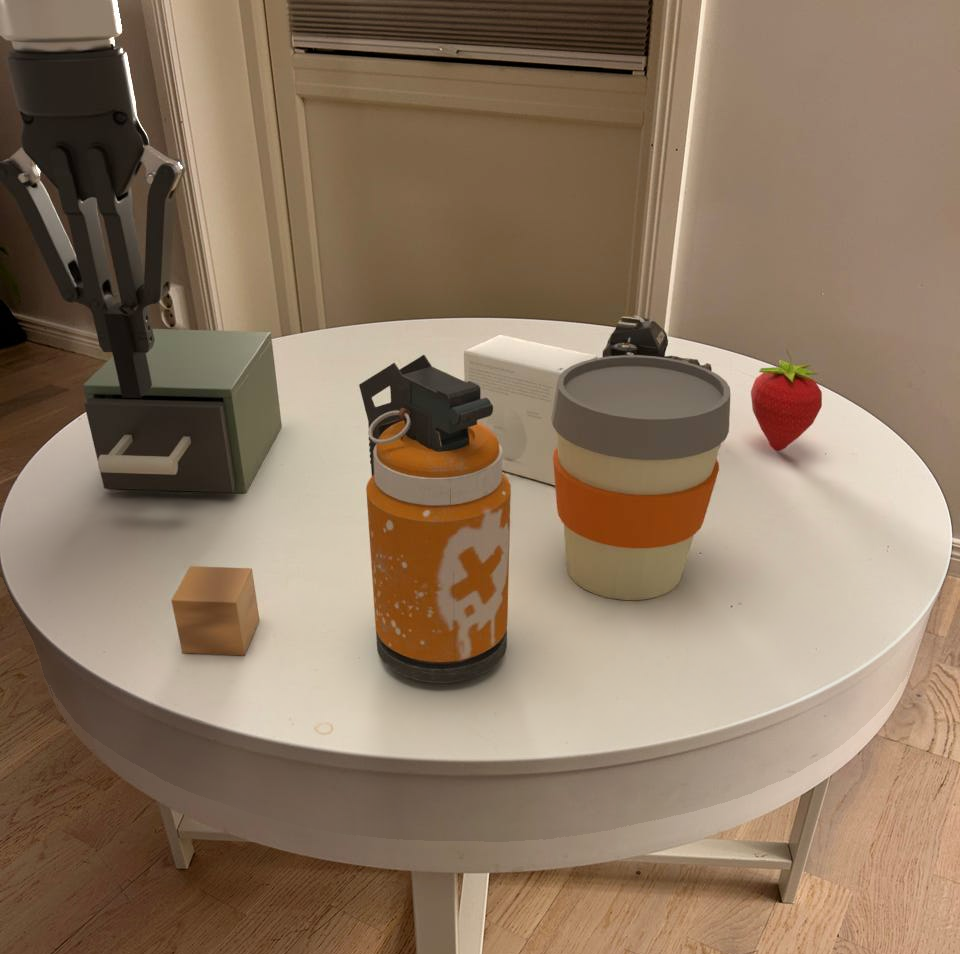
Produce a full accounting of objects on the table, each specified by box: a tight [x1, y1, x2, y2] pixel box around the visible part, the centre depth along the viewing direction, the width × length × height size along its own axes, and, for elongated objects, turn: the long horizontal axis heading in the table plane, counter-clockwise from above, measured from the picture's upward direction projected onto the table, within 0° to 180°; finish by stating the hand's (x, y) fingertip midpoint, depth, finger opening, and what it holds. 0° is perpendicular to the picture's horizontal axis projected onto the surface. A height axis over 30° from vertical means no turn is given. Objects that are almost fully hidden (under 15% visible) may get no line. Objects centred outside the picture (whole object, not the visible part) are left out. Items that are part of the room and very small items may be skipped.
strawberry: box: [750, 348, 823, 452], centre depth 93 cm, size 6×8×10 cm
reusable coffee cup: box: [551, 355, 731, 601], centre depth 74 cm, size 13×13×15 cm
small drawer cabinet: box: [82, 328, 283, 494], centre depth 92 cm, size 15×13×10 cm
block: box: [170, 565, 261, 656], centre depth 69 cm, size 4×4×4 cm
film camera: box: [602, 315, 713, 372], centre depth 99 cm, size 18×12×10 cm
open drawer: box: [83, 394, 236, 493], centre depth 87 cm, size 19×11×8 cm, turn 177°
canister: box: [358, 354, 512, 684], centre depth 64 cm, size 9×11×20 cm
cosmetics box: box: [463, 334, 598, 486], centre depth 91 cm, size 10×6×10 cm, turn 57°
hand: (137, 390), depth 78 cm, fingers closed
